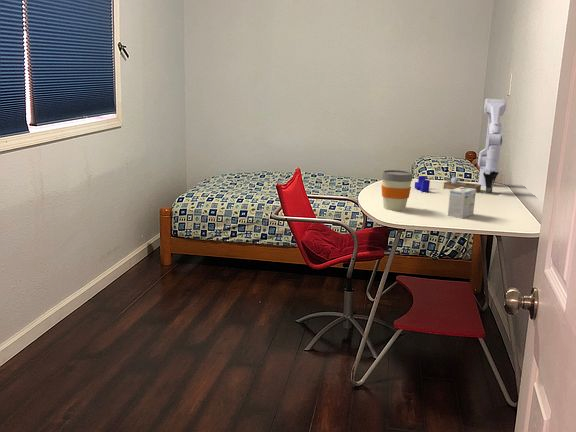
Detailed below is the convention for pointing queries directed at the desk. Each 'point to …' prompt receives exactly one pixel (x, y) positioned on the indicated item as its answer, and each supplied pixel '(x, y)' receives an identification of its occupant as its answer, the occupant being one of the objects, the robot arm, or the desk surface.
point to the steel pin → (489, 189)
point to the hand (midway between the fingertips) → (489, 187)
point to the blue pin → (454, 180)
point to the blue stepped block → (422, 184)
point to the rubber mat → (491, 193)
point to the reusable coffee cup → (395, 189)
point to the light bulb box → (461, 202)
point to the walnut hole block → (461, 185)
